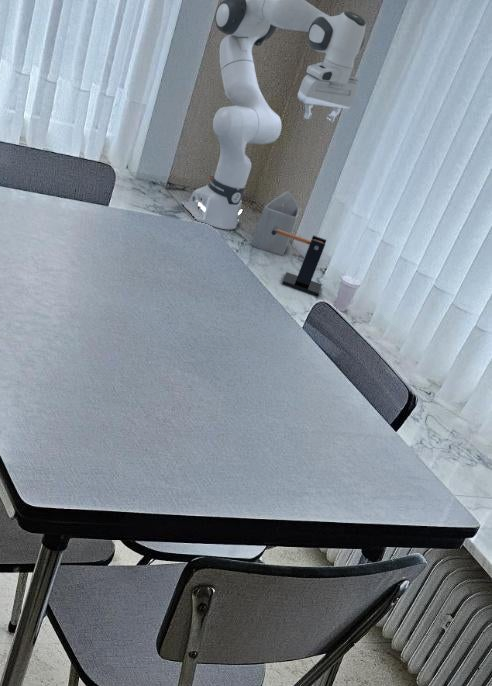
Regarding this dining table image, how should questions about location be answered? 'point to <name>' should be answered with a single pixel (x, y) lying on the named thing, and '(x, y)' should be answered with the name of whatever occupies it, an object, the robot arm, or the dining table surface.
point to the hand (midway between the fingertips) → (318, 120)
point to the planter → (276, 224)
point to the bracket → (307, 269)
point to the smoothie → (346, 291)
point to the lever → (290, 235)
